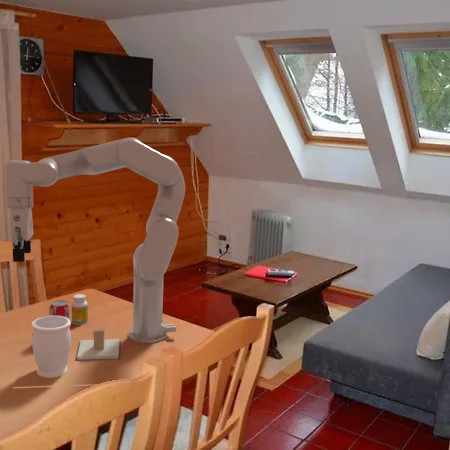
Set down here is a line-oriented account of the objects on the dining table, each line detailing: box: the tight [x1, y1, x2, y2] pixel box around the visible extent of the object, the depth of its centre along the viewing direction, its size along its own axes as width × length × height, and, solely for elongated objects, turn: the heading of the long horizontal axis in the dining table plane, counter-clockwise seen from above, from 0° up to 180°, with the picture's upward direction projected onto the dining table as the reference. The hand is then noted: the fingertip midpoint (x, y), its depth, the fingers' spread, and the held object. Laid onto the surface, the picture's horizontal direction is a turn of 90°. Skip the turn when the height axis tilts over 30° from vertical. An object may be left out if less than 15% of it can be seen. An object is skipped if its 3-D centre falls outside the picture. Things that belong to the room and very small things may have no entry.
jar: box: [31, 315, 72, 379], centre depth 157 cm, size 11×10×15 cm
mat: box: [75, 340, 122, 362], centre depth 172 cm, size 13×13×1 cm
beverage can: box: [48, 300, 71, 330], centre depth 180 cm, size 6×6×12 cm
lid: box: [76, 326, 120, 361], centre depth 172 cm, size 12×12×7 cm
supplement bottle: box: [71, 293, 89, 326], centre depth 193 cm, size 5×5×10 cm
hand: (22, 257), depth 171 cm, fingers open, 9 cm apart
